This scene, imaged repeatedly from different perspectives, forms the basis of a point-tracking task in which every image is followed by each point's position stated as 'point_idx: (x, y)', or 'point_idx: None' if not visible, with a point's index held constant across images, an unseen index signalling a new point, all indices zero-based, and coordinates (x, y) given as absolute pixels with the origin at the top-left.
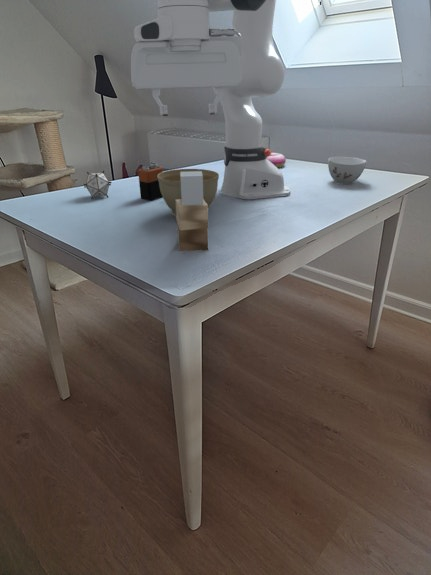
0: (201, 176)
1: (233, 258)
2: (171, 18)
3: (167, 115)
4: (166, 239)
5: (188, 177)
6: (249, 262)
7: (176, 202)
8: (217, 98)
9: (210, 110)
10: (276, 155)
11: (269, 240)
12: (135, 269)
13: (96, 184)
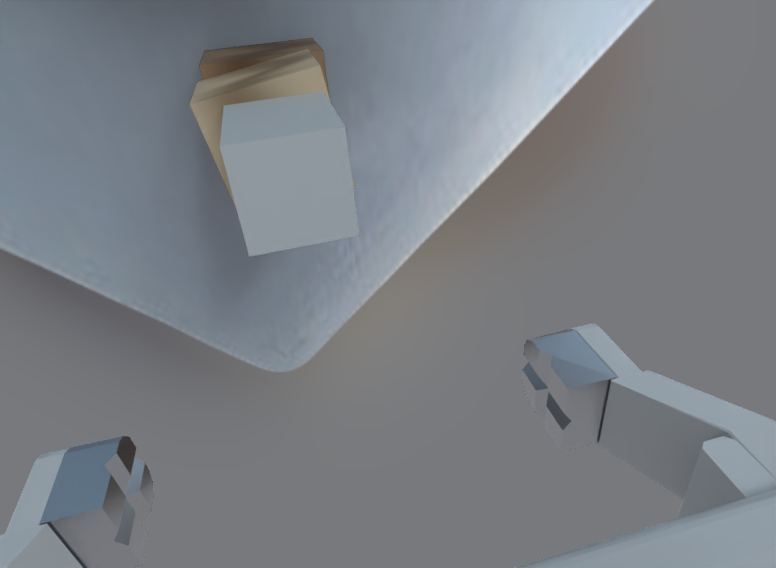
0: (353, 236)
1: (403, 195)
2: None
3: (148, 479)
4: (145, 38)
5: (289, 246)
6: (443, 216)
7: (205, 137)
8: (662, 478)
9: (543, 411)
10: None
11: (530, 44)
12: (138, 286)
13: None
